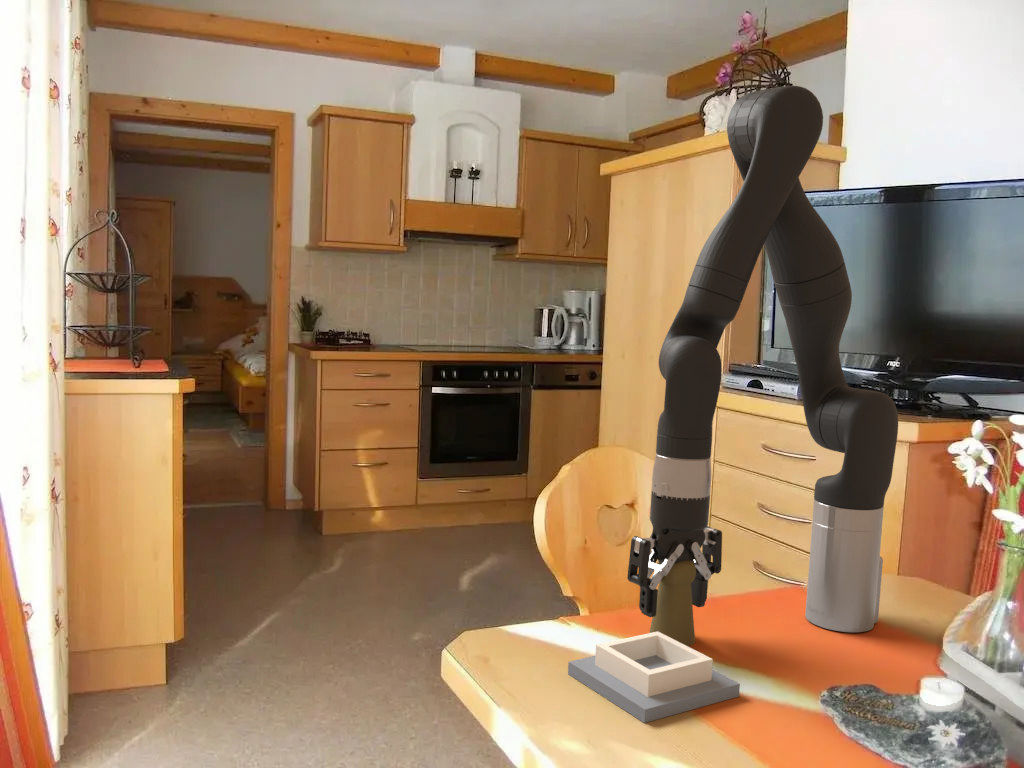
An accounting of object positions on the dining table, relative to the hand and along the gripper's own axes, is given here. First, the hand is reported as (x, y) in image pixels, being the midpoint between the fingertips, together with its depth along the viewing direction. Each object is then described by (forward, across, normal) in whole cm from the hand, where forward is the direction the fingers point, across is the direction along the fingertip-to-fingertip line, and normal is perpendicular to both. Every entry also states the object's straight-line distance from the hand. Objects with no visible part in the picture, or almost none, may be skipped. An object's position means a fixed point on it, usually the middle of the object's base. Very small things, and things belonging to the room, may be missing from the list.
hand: (672, 610), depth 122 cm
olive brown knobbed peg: (+4, 0, 0) cm, 4 cm away
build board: (+4, +12, +10) cm, 16 cm away
